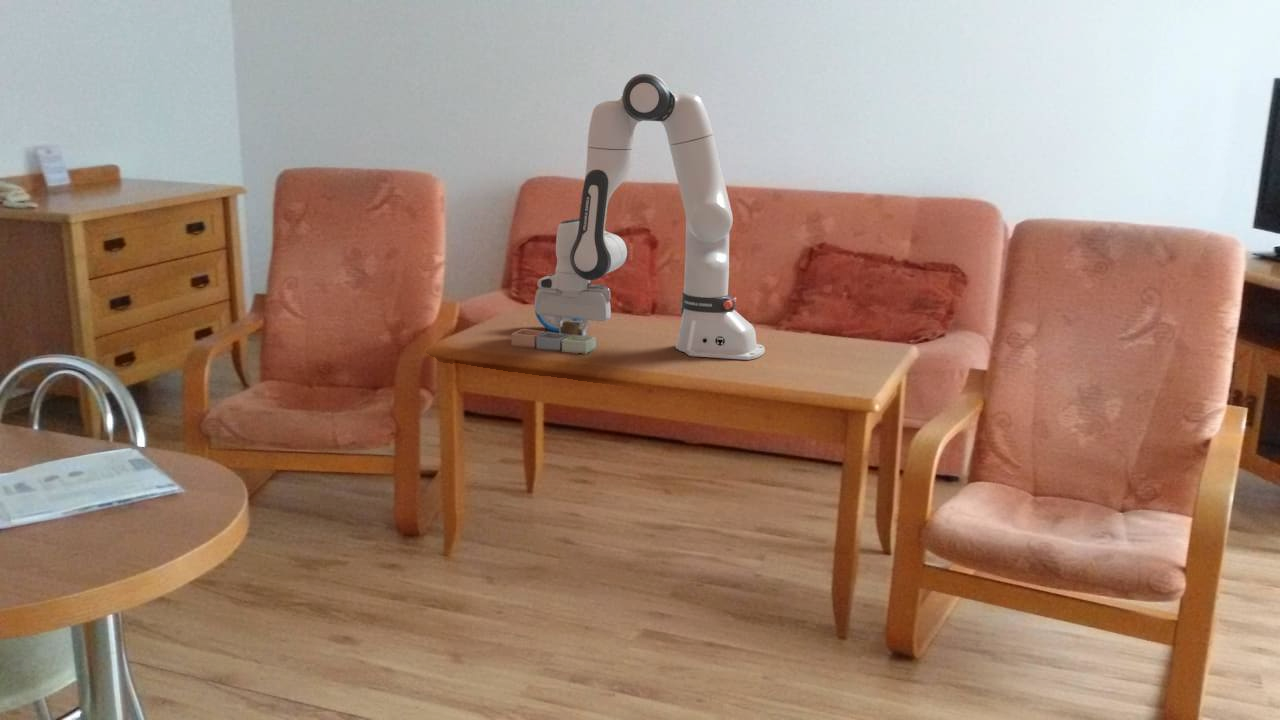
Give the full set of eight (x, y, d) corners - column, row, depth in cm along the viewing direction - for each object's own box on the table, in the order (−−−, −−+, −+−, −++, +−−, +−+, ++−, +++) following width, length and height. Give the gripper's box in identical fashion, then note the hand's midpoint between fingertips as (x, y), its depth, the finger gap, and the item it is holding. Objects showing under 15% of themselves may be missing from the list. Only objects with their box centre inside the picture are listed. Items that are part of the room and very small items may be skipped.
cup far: (545, 342, 288) (545, 331, 287) (534, 348, 282) (534, 336, 281) (523, 340, 290) (523, 328, 289) (511, 345, 284) (511, 333, 284)
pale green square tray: (595, 348, 283) (596, 337, 282) (585, 354, 277) (585, 342, 277) (572, 346, 285) (572, 334, 285) (561, 351, 279) (562, 339, 279)
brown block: (582, 340, 292) (582, 321, 290) (576, 343, 288) (576, 324, 287) (568, 338, 293) (568, 319, 292) (561, 342, 289) (562, 322, 288)
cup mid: (570, 345, 285) (570, 334, 285) (559, 351, 280) (559, 339, 279) (547, 343, 288) (547, 331, 287) (536, 348, 282) (536, 336, 281)
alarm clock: (533, 330, 301) (533, 275, 298) (543, 325, 307) (543, 271, 303) (578, 335, 297) (579, 279, 294) (587, 330, 303) (588, 275, 299)
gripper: (615, 283, 286) (614, 336, 289) (542, 276, 293) (542, 328, 296) (605, 287, 280) (604, 341, 284) (531, 280, 287) (531, 333, 291)
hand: (572, 334), depth 290 cm, fingers closed on brown block, 4 cm apart
